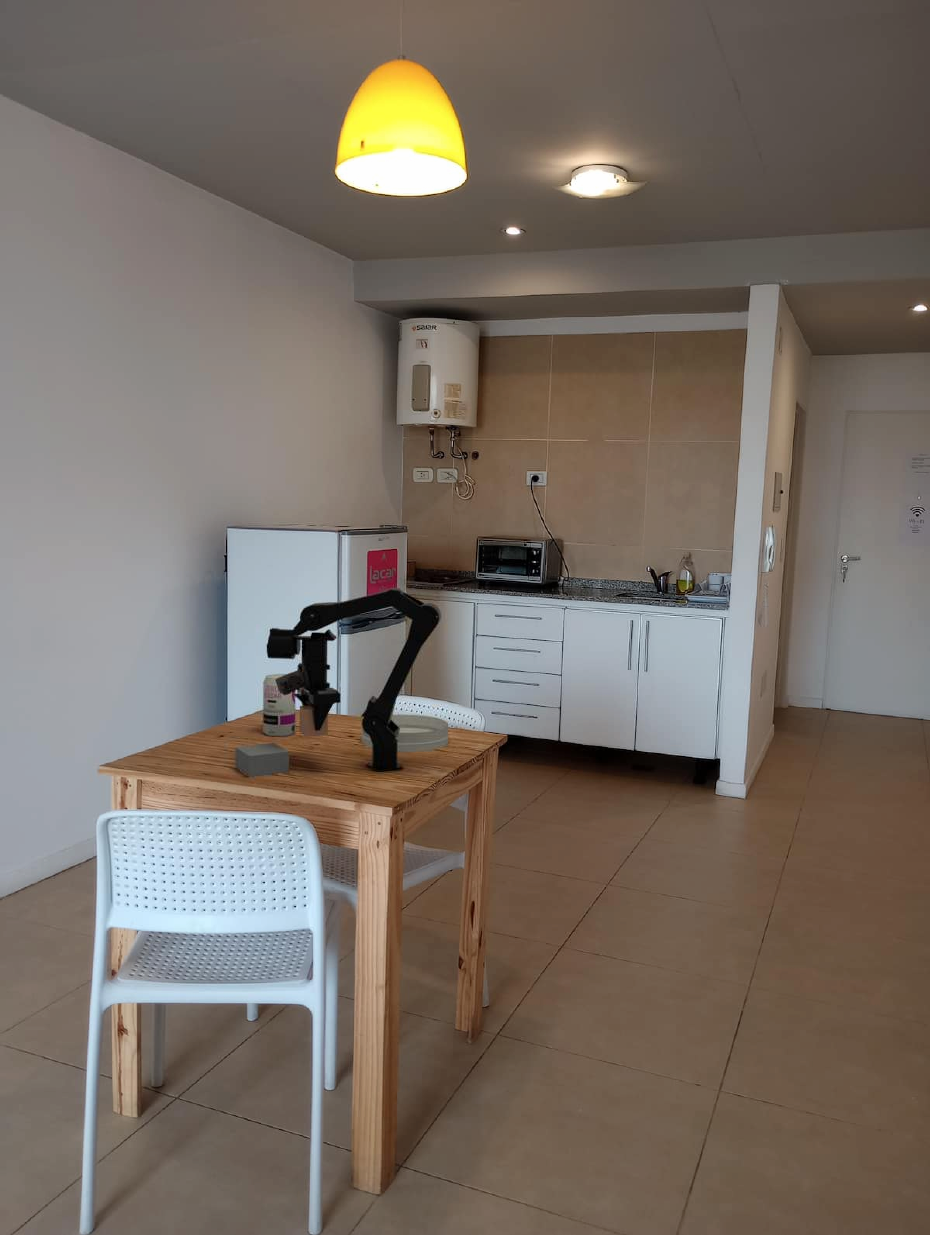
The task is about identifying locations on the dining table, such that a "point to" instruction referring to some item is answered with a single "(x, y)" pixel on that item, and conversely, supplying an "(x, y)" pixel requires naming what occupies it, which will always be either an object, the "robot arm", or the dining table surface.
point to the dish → (417, 733)
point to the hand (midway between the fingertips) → (313, 728)
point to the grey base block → (262, 759)
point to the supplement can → (277, 709)
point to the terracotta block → (310, 723)
